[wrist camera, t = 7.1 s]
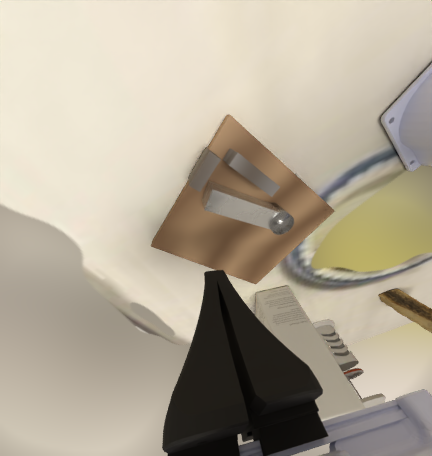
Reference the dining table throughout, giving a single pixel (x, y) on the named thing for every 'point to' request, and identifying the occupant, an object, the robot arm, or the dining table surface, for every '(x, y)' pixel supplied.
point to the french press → (344, 358)
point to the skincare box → (307, 349)
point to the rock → (408, 307)
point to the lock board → (231, 228)
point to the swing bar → (246, 208)
